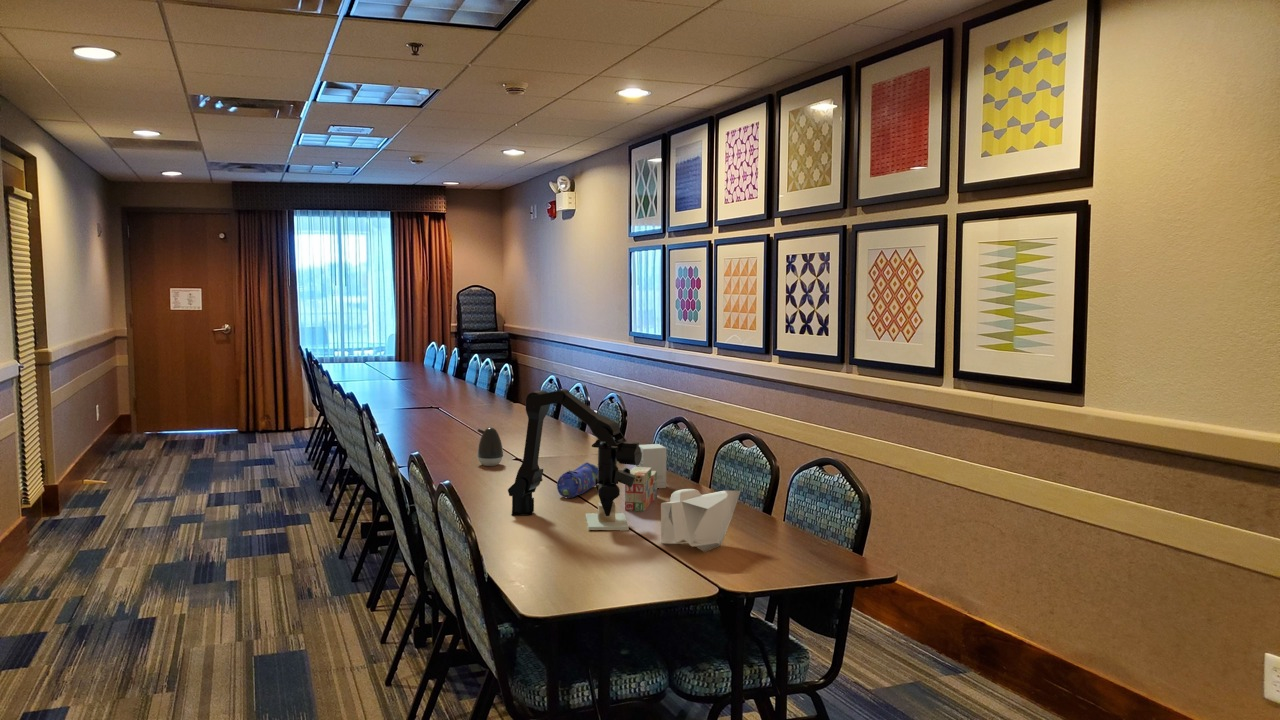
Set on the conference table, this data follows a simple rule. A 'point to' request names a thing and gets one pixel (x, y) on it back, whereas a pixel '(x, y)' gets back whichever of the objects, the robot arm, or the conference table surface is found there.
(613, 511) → the beige cube
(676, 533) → the folded paper
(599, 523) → the sage board
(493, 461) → the grey egg-shaped body
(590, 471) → the pencil case
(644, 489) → the stack of blocks
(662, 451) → the supplement box
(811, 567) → the conference table surface
